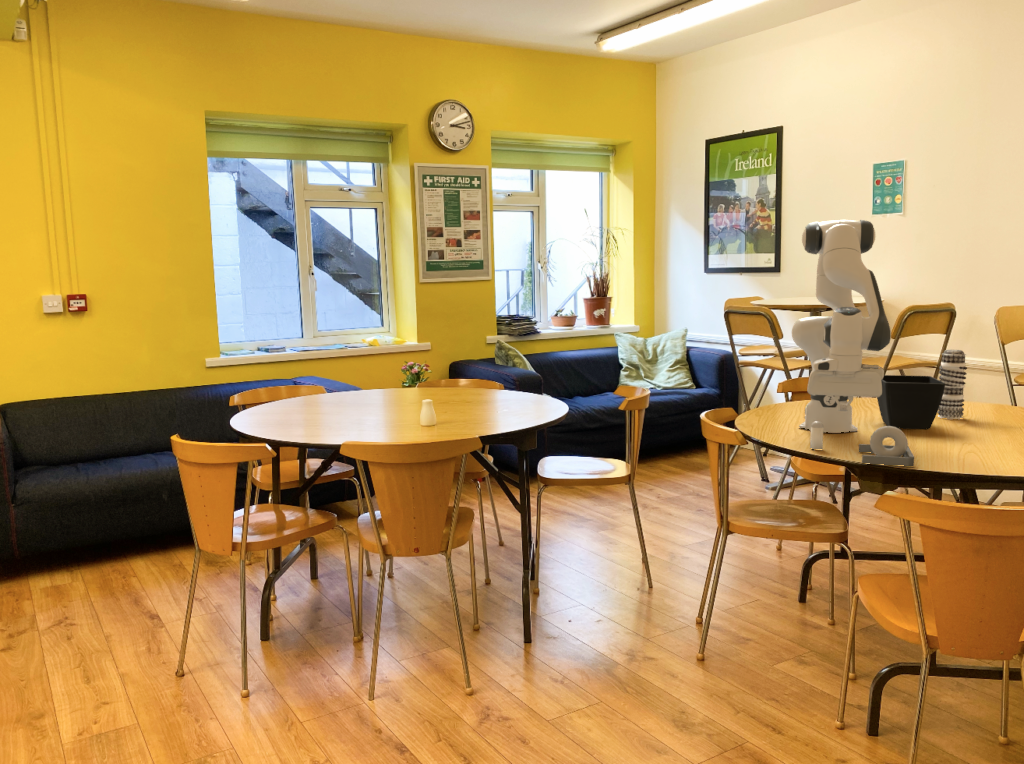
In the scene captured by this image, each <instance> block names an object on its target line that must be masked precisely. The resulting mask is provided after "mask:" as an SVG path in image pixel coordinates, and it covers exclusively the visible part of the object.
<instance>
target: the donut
mask: <svg viewBox="0 0 1024 764" xmlns="http://www.w3.org/2000/svg"><path fill="white" fill-rule="evenodd" d="M886 438H891V439H892V440H893V441H894V445H893V446H894V447H893V448H891V449H887V448H885V447H884V446H883V445H884V444H883V441H884V440H885V439H886ZM869 444H870V447H871V449H872V451H873V453H874V454H873V453H872V454H873V455H875V456H893V457H903V455H904V453H905V452H906V450H907V446H908V447H909V443H908V438H907V436H906V434H905V433H904V432H903V431H902V429H900V428H896V427H893V426H888V425H886V426H885V425H884V426H881V427H878V428H877V429H876V430H874V431H873V433H872V434H871V435H870V439H869Z"/></svg>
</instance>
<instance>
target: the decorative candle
mask: <svg viewBox="0 0 1024 764" xmlns="http://www.w3.org/2000/svg"><path fill="white" fill-rule="evenodd" d="M966 356H967V354H966V353H965V352H964V351H963V350H961V349H946V350H944V351H943V353H941V362H940V366H939V367H938V368H939V371H938V374H940V376H938V378H939V379H938V380H939V381H942V382H944V383H945V388H944V393H943V396H942V400H941V403H940V406H939V409H938V412H937V416H938V417H940V418H939V419H942V418H947V419H946V420H953V419H958V420H961V419H960V418H963V419H964V417H963V416H964V411H965V410H964V406H965V404H964V402H965V399H964V398H965V397H964V396H965V395H964V388H966V384H967V383H966V382H965V380H966V379H967V377H966V375H967V372H966V371H965V370H967V369H968V367H967V366H966ZM938 417H937V418H938Z"/></svg>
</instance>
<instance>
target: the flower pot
mask: <svg viewBox="0 0 1024 764" xmlns="http://www.w3.org/2000/svg"><path fill="white" fill-rule="evenodd" d="M939 380H940V379H937V378H935V377H933V376H931V375H903V374H902V375H897V374H896V375H895V374H892V375H891V374H890V375H889V374H888V375H887V374H884V378H883V379H882V380H881V383H882V395H881V396H880V397H876V398H877V403H878V409H879V412H880V416H881V419H882V422H883V423H884V424H885V425H886V426H893V427H896V428H898V429H900V428H903V429H905V430H906V429H907V430H930V429H931V427H932V426H933V423H934V420H935V419H936V417H937V415H938V413H937V412H938V411H939V410H938V409H939V406H940V403H941V400H942V396H943V393H944V388H945V383H944V382H942V381H939Z"/></svg>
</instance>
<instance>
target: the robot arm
mask: <svg viewBox="0 0 1024 764" xmlns="http://www.w3.org/2000/svg"><path fill="white" fill-rule="evenodd" d="M875 241H876V230H875V227H874V224H873V223H872V222H871V221H869V220H865V219H860V220H855V219H838V220H835V219H834V220H826V221H820V222H819V221H813V222H809V223H808V224H807V225H806V226H805V228H804V229H803V232H802V235H801V243H802V247H803V249H804V250H805V251H806V253H808V254H811V255H819V256H818V259H817V267H816V280H815V281H816V283H815V297H816V299H817V301H818V302H820V303H821V304H822V305H824V306H826V307H829V308H831V309H832V312H833V313H832V315H831V316H830V315H829V316H826V315H825V316H824V315H822V316H820V315H819V316H817V315H815V316H806V317H803V318H798V319H797V320H796V321H795V323H794V324H793V325H792V328H791V338H792V340H793V342H794V344H795V345H796V346H797V347H799V348H800V349H801V350H802V351H804V353H805V354H806V356H807V358H808V359H809V362H810V365H811V371H810V374H809V378H808V382H807V393H808V394H809V395H810V399H811V400H810V401H809V402H807V404H806V406H805V408H804V421H803V422H802V423H800V424H799V426H798V428H799V427H800V428H799V429H801V428H805V429H804V430H807V429H809V430H808V431H811V424H812V423H813V422H815V421H819V422H821V423H822V424H823V433H826V432H828V433H830V434H831V433H832V434H840V433H841V432H844V433H849V431H850V432H858V431H859V430H858V427H857V426H856V425H854V424H853V406H852V405H851V404H852V403H853V401H854V397H858V398H859V397H861V398H863V397H865V398H877V397H880V396H881V395H882V383H881V380H882V379H883V378H884V375H885V370H884V368H883V367H882V366H879V365H878V364H863V351H862V350H865V351H872V352H880V351H882V350H884V348H886V347H887V346H888V345H889V344H891V339H892V330H891V327H890V324H889V320H888V317H887V315H886V312H885V308H884V304H883V301H882V297H881V293H880V288H879V285H878V282H877V279H876V276H875V274H874V272H873V270H870V269H868V268H867V267H866V265H865V264H864V262H863V261H862V254H865V253H867V252H869V251H870V250H871V249H872V248H873V245H874V244H875ZM852 291H854V292H856V293H859V295H862V297H863V298H864V302H865V305H866V309H867V310H866V311H867V312H868V316H863V313H862V310H861V309H860V308H857V307H856V306H855V304H854V301H853V293H852ZM857 430H858V431H857ZM841 434H842V433H841Z"/></svg>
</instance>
